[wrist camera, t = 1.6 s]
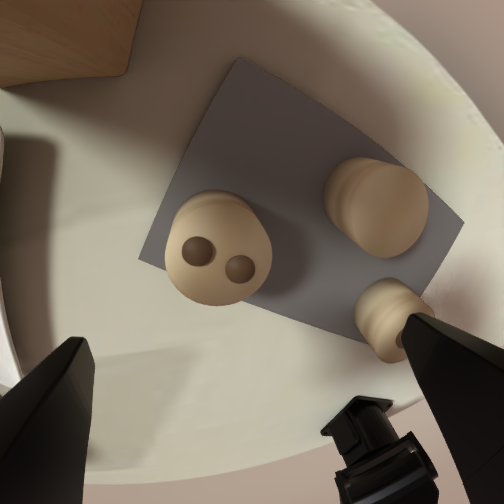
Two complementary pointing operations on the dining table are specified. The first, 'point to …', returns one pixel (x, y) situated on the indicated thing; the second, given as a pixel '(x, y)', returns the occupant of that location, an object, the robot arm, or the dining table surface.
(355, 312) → the one dot puck
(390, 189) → the plain puck
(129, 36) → the wooden block
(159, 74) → the dining table surface
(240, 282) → the two dot puck
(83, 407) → the robot arm
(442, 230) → the mat
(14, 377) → the salad plate
